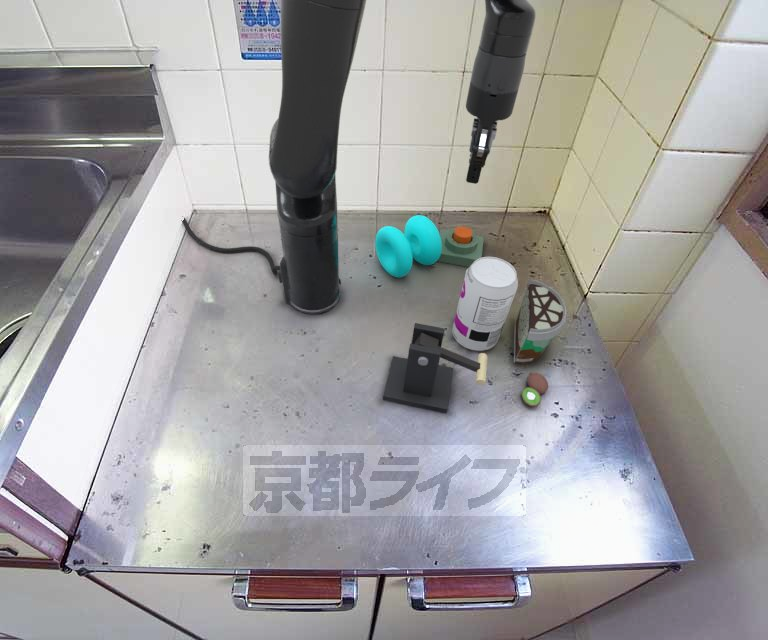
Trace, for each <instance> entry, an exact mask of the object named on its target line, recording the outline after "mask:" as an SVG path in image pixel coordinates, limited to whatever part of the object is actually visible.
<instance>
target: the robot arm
mask: <svg viewBox="0 0 768 640" xmlns="http://www.w3.org/2000/svg"><path fill="white" fill-rule="evenodd" d="M366 3H367V0H280V53H281V54H280V56H281V83H282V84H281V99H280V104H279V105H280V106H279V112H278V117H277V119H276V120H275V122H274V123H273V125H272V126H271V127H272V128H271V130H270V134H269V147H268V165H269V170H270V173H271V176H272V178H273V180H274V182H275V196H276V213H277V218H278V225H279V232H280V233H279V234H280V239H281V248H282V255H283V256H282V258H281V259H280V262H279V265H275V263H274V260H273V258H272V256H271V255H270V253H269V252H268V251H266V249H264V248H261V247H258V246H238V247H232V248H231V247H230V248H229V247H228V248H225V247H218V246H215V245H212V244H210V243H207V242H206V241H204V240H202V239H201V238H199V237H198V236H197V235H196V234H195V233H194V232H193V230H192V228H191V227H190V225H189V223H188V221H187V219H186V218H185V217H184V220H183V222H182V224H183V226H184V228H185V230H186V231H187V233H188V235H189V236H190V237H191V238H192V239H193V240H194V241H196V242H197V243H199V244H200V245H201V246H203V247H204V248H206V249H209V250H212V251H214V252H220V253H238V252H247V251H249V252H250V251H252V252H258V253H261V254H263V255H264V256H265V258H266V259H267V261H268V263H269V266H270V269H271V272H272V273H273V274H274V275H276V274H278V275H277V276H278V280H279V284H282V290H283V295H284V296H283V297H284V302H285V304H289V305H290V306H292V308H293V309H295V310H296V311H298V312H300V313H304V314H305V315H306V314H307V315H318V314H323V313H326V312H329V311H330V310H332V309H333V308H334V307H336V305H337V304H339V301H340V299H341V291H340V286H342V280H341V278H340V268H339V264H340V261H339V227H338V225H339V224H338V197H337V196H338V195H337V180H336V178H337V177H336V172H337V168H338V148H339V147H338V145H339V133H340V123H341V121H340V120H341V114H342V106H343V102H344V101H343V100H344V97H345V91H346V88H347V85H348V84H347V83H348V80H349V77H350V73H351V69H352V65H353V61H354V57H355V53H356V49H357V44H358V40H359V36H360V31H361V27H362V22H363V18H364V13H365V10H366ZM484 7H485V9H484V10H485V11H484V12H485V15H484V20H483V24H482V30H481V34H480V38H479V44H478V49H477V52H476V55H475V58H474V61H473V65H472V71H471V76H470V81H469V86H468V92H467V97H466V101H465V109H466V111H467V112H468V113H469V114H470V115H471V116H473V117H474V118H473V122H472V127H471V133H470V136H471V139H470V143H469V151H468V152H469V159H468V169H467V173H466V178H465V181H466V182H467V183H469V184H475V185H476V184H478V183H479V182H480V178H481V177H480V176H481V174H482V173H481V172H482V168H484V166H486V161H487V158H488V155H490V153H491V150H492V149H491V148H492V145H493V141H494V140H495V139H496V136H497V131H498V128H497V127H498V121H504V120H506V119H509V118H510V117H511V116H512V114H513V111H514V108H515V104H516V101H517V97H518V92H519V89H520V85H521V82H522V78H523V75H524V70H525V64H526V58H527V52H528V49H529V45H530V41H531V38H532V34H533V30H534V27H535V22H536V16H537V15H536V9H535V7H534V6H533V5H532V4H531V3H530V2H529V1H528V0H484Z"/></svg>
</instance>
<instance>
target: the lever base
mask: <svg viewBox="0 0 768 640" xmlns="http://www.w3.org/2000/svg"><path fill="white" fill-rule="evenodd" d="M445 331H446V328H444V327H440V326H435V325H428V324H423V323H418V322H415V323H414V325H413V331H412V338H411V343H410V344H409V348H408V354H407V358H405V357H400V356H395V355H393V356H392V359H391V362H390V366H389V371H388V375H387V379H386V383H385V387H384V391H383V395H382V401H386V402H390V403H394V404H395V403H396V404H399V405H400V404H401V405H405V406H410V407H414V408H419V409H423V410H428V411H433V412H437V413H443V414H447V413H448V410H449V403H450V396H451V388H452V381H453V374H454V367H451V366H447V365H442V364H441V365H440V361H441V360H440V359H441V358H440V355H441V349H436V348H431V347H426V346H421V345H416V344H415V341H416V340H417V338H418V337H419V336H420V334H421V333H424V334H426V335H429V336H431V337H434V338H436V339H438V340H439V343H438V346H440V347H442V345H443V341H444V335H445Z"/></svg>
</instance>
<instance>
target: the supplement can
mask: <svg viewBox="0 0 768 640" xmlns="http://www.w3.org/2000/svg"><path fill="white" fill-rule="evenodd" d="M517 274H518V273H517V271H516V268H515V266H513V265H512V264H511V263H509V262H508V261H506V260H505V259H502V258H500V257H496V256H484V257H483V256H482V258H479V259H477V260H475V261H474V263H473V264H472V265H471V266H470V267H467V269H466V270H465V274H464V279H463V283H462V287H461V291H460V295H459V299H458V303H457V308H456V310H455V311H456V312H455V316H454V320H453V323H452V328H451V332H452V337H453V338H454V339H455V341H456V342H457V343H458V344H460V345H461V346H462V347H464V348H465V349H467V350H471V351H477V352H478V351H479V352H483V351H488V350H491V349H492V348H494V347H495V346H496V345H497V344H498V342H499V340H500V337H501V334H502V331H503V329H504V327H505V324H506V321H507V319H508V315H509V312H510V310H511V306H512V304H513V301H514V299H515V296H516V293H517V290H518V288H519V287H518V286H519V280H518V276H517Z"/></svg>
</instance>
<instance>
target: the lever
mask: <svg viewBox="0 0 768 640" xmlns="http://www.w3.org/2000/svg"><path fill="white" fill-rule="evenodd" d="M438 343H439V340H438V339H436V338H434V337H431V336H429V335H426V334H424V333H421V334H420V336H419V337H418V338H417V340H416V341H415V344H416V345H421V346H426V347H431V348H436V349H441V355H440V359H442V360H445V361H448V362H450V363H452V364H455V365H457V366H460V367H463V368H464V369H467V370H470V371H472V372H475V382H474V383H475V384H476V385H477V386H480V387H482V386H485V385H486V383H487V372H488V371H487V369H488V359H489V356H488V354H486V353H484V352H480V353H479V354H478V355H477V360H474V359H471V358H470V357H469V358H468V357H466V356H464V355H461V354H459V353H456V352H454V351H451V350H450V349H447V348H444V347H442V346H441V347H440V346H438Z"/></svg>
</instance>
